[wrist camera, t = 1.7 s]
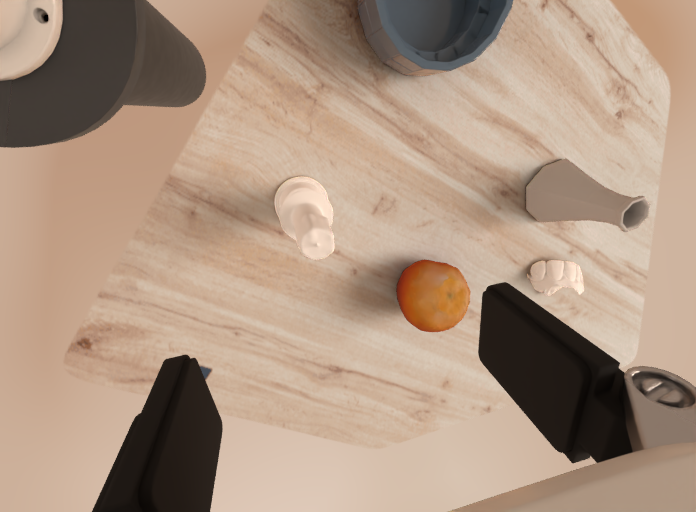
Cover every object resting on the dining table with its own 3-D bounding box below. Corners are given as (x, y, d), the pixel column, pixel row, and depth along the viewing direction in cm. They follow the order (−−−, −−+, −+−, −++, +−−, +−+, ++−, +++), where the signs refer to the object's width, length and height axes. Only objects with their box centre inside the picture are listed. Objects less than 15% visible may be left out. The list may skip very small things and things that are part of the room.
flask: (582, 196, 40) (673, 221, 31) (533, 231, 40) (608, 265, 31) (568, 146, 36) (665, 157, 28) (515, 184, 37) (593, 208, 28)
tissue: (545, 244, 42) (570, 256, 38) (580, 267, 45) (606, 280, 41) (519, 279, 43) (540, 294, 40) (554, 299, 46) (577, 314, 43)
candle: (265, 188, 31) (264, 228, 20) (316, 167, 31) (342, 197, 20) (287, 236, 33) (297, 295, 23) (335, 216, 34) (367, 265, 23)
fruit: (375, 321, 38) (414, 327, 31) (387, 258, 40) (426, 250, 33) (430, 333, 41) (477, 342, 34) (439, 274, 43) (486, 269, 36)
